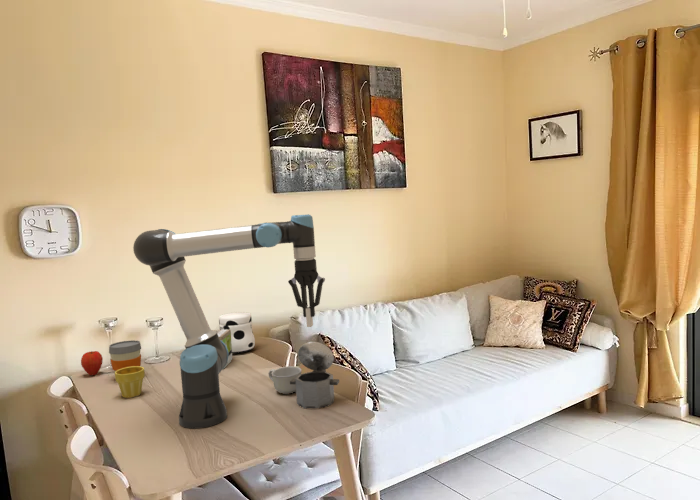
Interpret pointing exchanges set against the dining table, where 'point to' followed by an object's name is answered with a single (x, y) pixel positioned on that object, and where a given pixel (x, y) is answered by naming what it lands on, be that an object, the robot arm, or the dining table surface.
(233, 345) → the milk container
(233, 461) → the dining table surface
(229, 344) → the tea box
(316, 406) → the cooker
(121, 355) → the reusable coffee cup
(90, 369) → the apple
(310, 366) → the lid
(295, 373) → the teacup
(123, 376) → the plant pot
